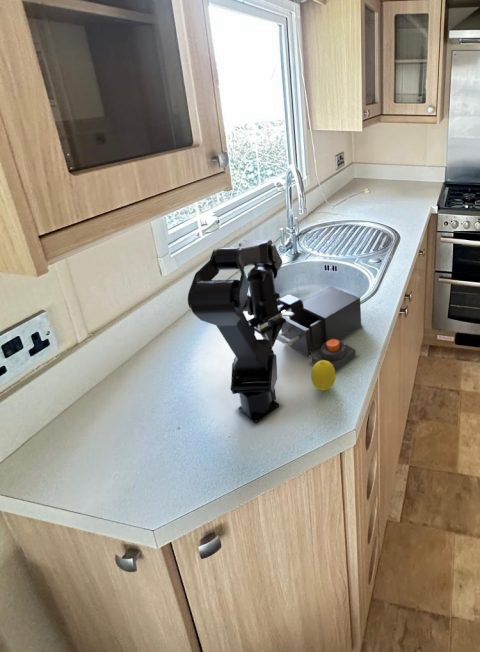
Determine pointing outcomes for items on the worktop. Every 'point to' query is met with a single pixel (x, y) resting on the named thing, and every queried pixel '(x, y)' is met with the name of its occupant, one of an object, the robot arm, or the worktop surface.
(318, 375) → the lemon
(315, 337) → the basket
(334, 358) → the control block
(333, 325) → the air fryer
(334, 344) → the button
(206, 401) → the worktop surface
